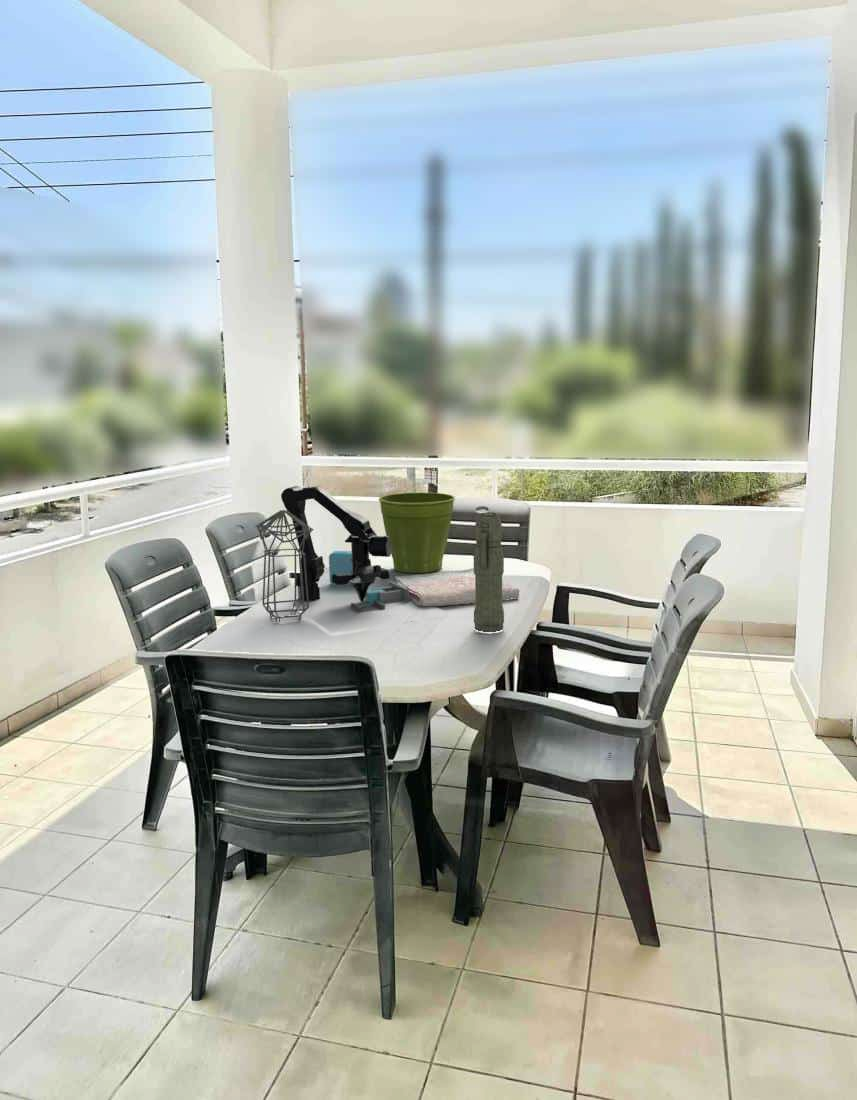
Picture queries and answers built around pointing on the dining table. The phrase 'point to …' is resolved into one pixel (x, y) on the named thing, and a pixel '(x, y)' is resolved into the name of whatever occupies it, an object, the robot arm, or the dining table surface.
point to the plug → (372, 595)
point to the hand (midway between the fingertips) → (361, 601)
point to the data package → (340, 564)
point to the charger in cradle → (368, 607)
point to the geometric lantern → (271, 520)
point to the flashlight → (488, 573)
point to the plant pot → (417, 529)
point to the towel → (447, 588)
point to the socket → (393, 593)
